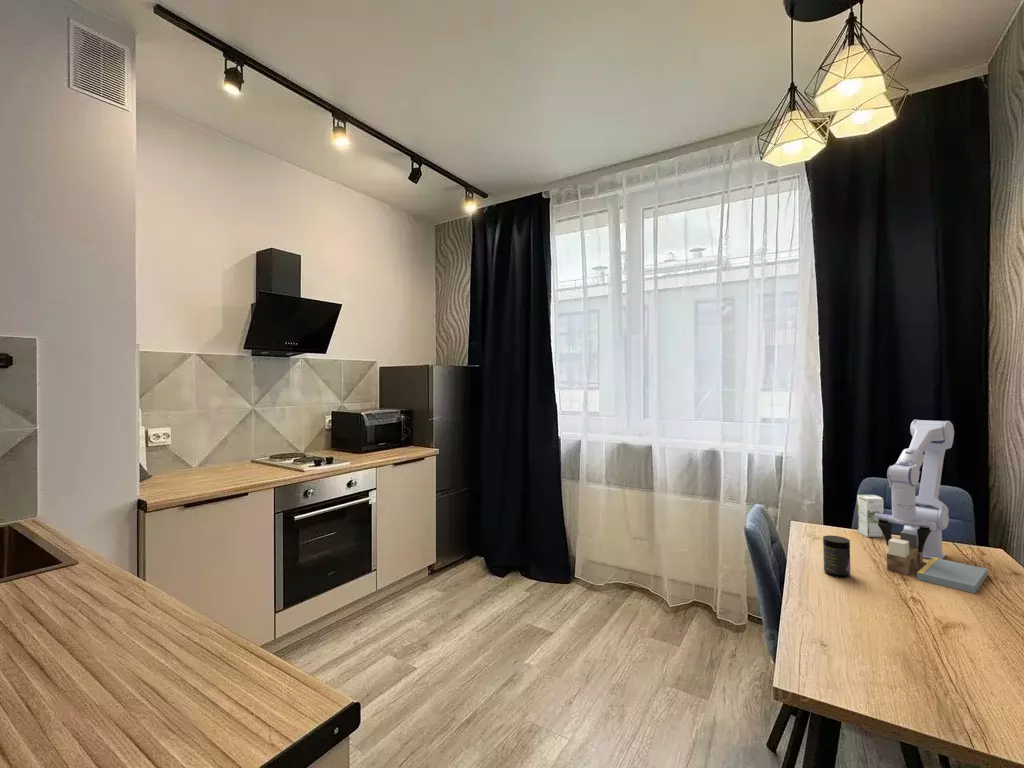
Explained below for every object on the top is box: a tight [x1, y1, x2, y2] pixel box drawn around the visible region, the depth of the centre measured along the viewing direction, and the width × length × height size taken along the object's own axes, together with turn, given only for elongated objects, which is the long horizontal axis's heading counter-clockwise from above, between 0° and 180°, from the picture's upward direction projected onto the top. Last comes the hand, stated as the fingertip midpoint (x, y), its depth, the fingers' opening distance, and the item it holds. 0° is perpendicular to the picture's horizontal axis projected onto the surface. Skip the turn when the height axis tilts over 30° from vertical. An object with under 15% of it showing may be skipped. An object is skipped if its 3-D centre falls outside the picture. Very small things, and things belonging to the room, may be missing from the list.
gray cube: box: [899, 530, 918, 548], centre depth 150 cm, size 4×4×4 cm
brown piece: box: [886, 547, 924, 576], centre depth 146 cm, size 5×16×5 cm, turn 127°
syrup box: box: [857, 494, 885, 538], centre depth 175 cm, size 6×6×14 cm
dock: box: [916, 557, 988, 594], centre depth 137 cm, size 12×18×2 cm, turn 127°
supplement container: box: [822, 535, 852, 579], centre depth 142 cm, size 7×7×10 cm
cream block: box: [888, 537, 909, 558], centre depth 142 cm, size 4×4×4 cm
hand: (904, 548), depth 146 cm, fingers open, 7 cm apart
